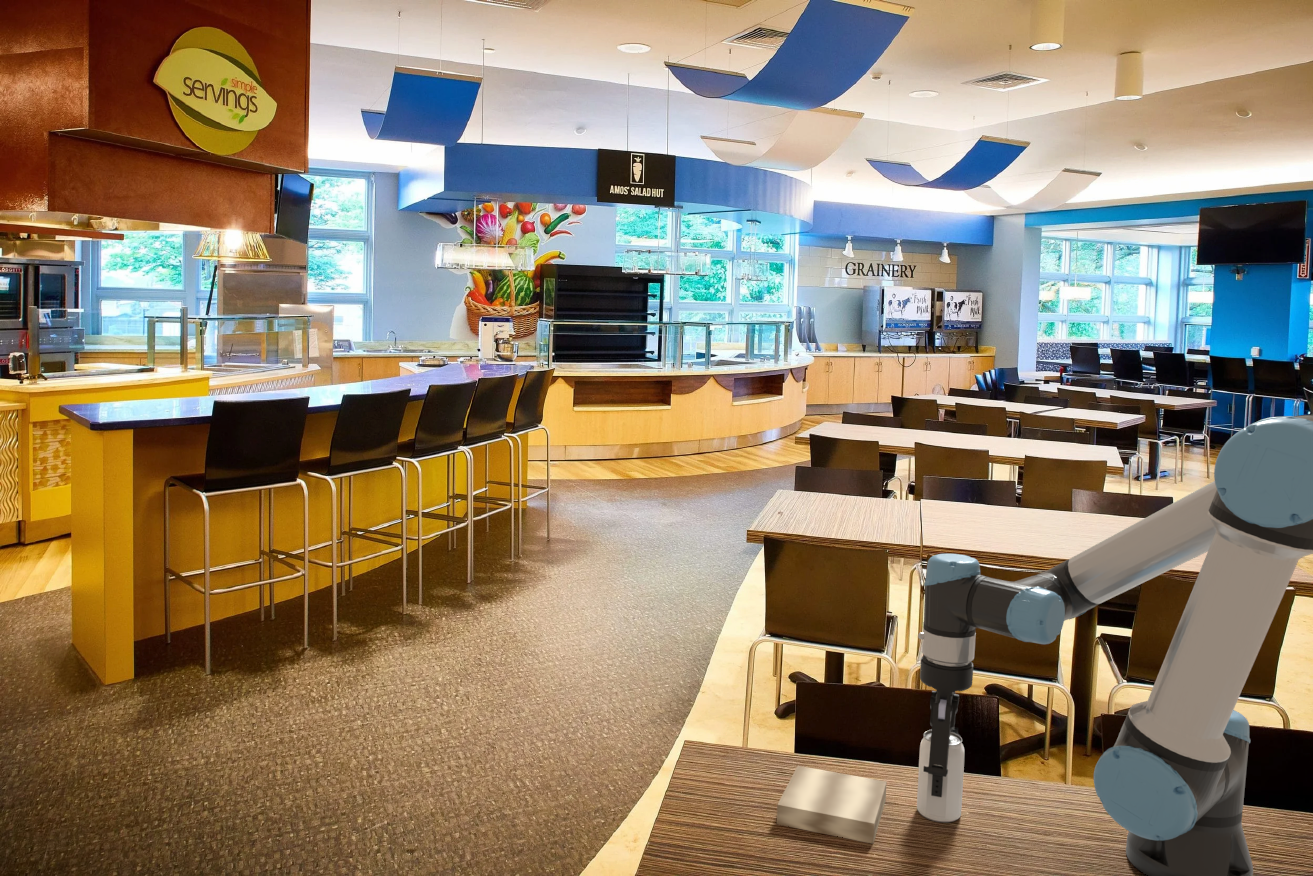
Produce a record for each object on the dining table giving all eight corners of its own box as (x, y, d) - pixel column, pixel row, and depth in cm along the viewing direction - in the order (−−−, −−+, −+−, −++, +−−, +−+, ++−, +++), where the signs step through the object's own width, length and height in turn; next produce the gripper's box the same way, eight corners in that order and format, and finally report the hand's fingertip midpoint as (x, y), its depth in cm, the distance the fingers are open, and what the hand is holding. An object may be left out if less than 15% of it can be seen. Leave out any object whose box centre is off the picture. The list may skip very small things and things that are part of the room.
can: (966, 824, 139) (971, 746, 138) (922, 823, 139) (926, 745, 138) (953, 803, 146) (958, 729, 144) (911, 802, 146) (915, 727, 145)
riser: (885, 800, 146) (886, 781, 146) (873, 843, 133) (874, 823, 133) (796, 783, 151) (797, 765, 151) (776, 824, 138) (777, 804, 138)
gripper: (928, 631, 153) (920, 756, 155) (913, 681, 130) (904, 828, 132) (976, 637, 150) (968, 764, 153) (970, 690, 127) (960, 839, 129)
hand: (939, 794), depth 142 cm, fingers open, 13 cm apart
